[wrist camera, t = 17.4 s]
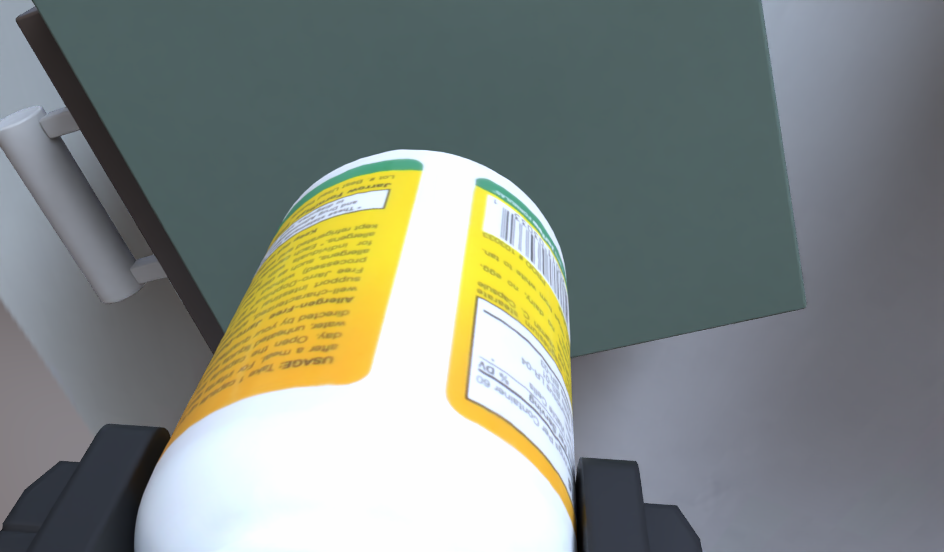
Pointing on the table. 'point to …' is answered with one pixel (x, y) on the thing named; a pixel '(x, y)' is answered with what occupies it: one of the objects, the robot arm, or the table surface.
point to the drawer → (91, 190)
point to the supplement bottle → (384, 379)
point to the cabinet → (466, 134)
